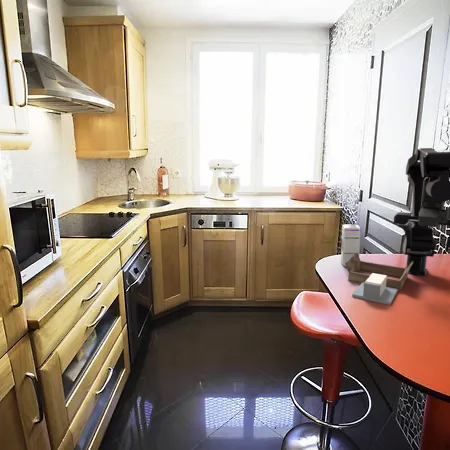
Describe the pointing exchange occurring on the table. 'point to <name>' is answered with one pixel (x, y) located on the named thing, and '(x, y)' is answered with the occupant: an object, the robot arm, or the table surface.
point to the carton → (356, 265)
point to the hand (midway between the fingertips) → (427, 249)
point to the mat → (384, 298)
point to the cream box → (374, 286)
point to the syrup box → (350, 242)
